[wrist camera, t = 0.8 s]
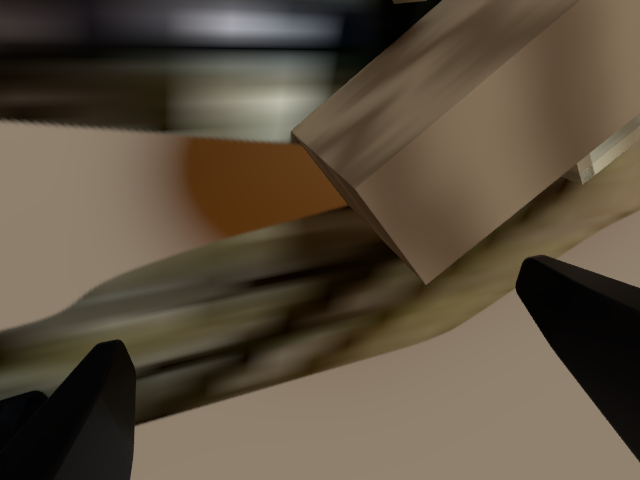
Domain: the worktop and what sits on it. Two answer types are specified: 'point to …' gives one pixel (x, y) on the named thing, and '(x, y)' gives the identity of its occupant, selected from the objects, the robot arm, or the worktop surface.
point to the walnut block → (475, 118)
